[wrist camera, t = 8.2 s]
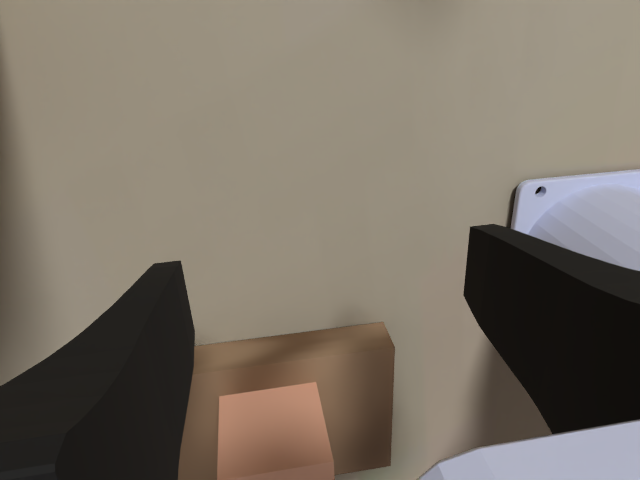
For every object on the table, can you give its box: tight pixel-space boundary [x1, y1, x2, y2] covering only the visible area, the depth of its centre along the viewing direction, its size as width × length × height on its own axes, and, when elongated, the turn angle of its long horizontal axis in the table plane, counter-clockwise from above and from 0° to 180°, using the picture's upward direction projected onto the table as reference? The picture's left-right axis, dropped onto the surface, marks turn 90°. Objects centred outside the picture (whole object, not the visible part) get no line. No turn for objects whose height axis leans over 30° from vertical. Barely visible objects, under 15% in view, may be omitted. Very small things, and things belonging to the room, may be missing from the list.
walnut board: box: [178, 322, 395, 480], centre depth 25 cm, size 12×8×2 cm, turn 92°
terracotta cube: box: [217, 382, 335, 480], centre depth 22 cm, size 4×4×4 cm
